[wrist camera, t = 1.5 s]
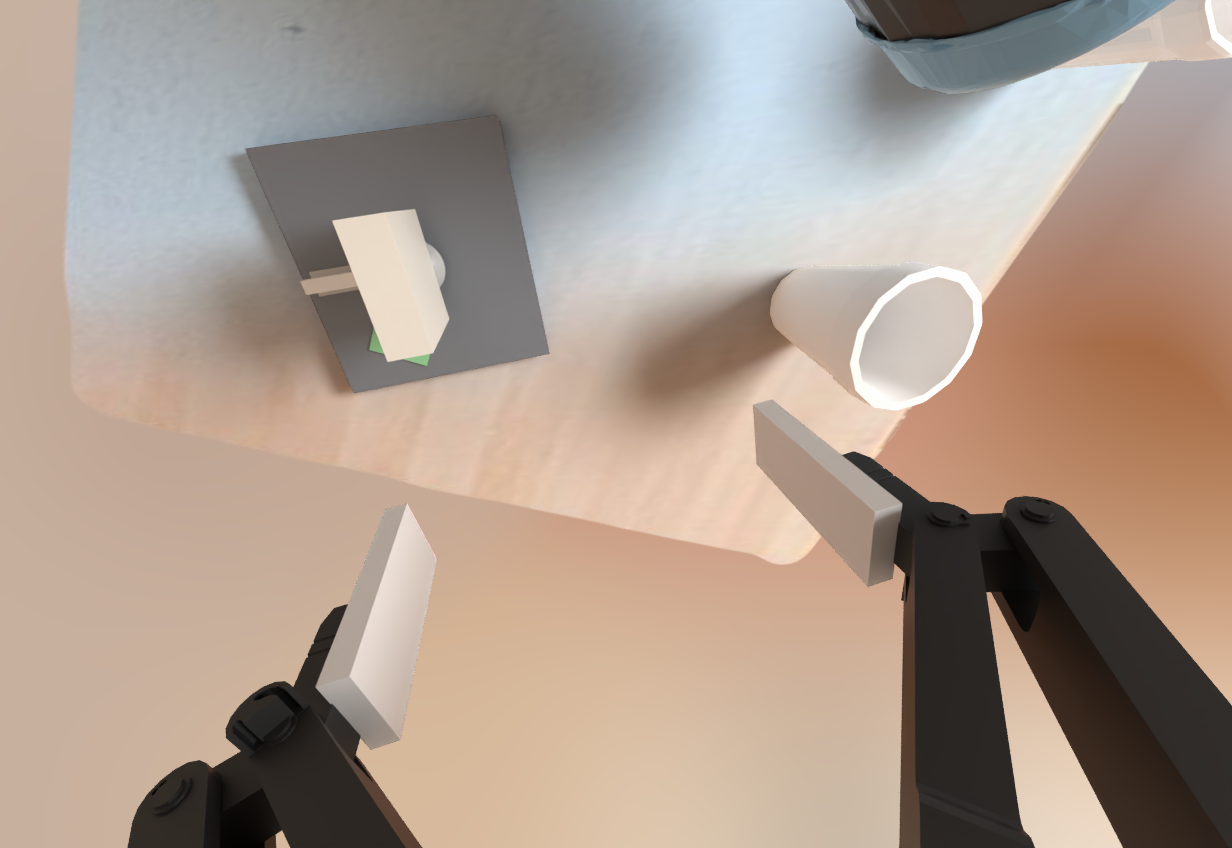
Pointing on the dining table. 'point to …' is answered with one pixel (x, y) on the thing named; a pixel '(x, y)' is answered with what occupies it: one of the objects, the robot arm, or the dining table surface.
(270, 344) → the dining table surface
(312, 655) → the robot arm
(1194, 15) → the cup
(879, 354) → the foam cup
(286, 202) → the base
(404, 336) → the cream angular block
